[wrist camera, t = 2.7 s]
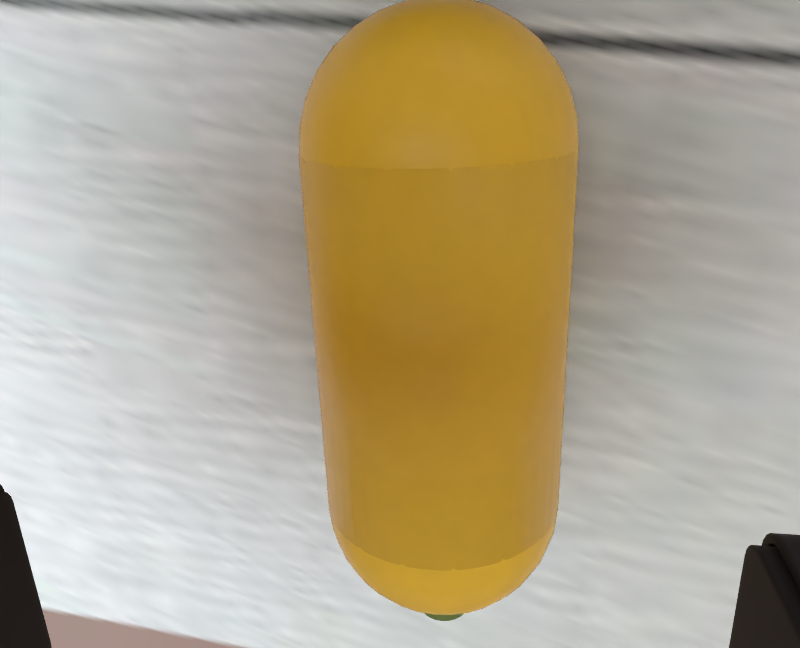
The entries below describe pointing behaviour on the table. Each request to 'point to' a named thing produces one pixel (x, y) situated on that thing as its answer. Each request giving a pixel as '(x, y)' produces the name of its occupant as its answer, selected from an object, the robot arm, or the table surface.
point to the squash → (441, 296)
